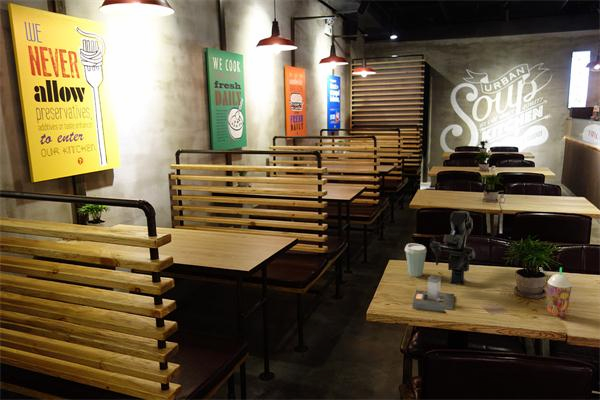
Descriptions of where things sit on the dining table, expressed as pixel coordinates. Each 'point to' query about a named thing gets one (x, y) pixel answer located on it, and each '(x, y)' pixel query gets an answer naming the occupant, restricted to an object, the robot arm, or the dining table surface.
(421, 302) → the flange plate
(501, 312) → the pad
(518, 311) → the dining table surface
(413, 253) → the disposable coffee cup
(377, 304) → the dining table surface
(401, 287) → the dining table surface
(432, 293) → the grey square peg
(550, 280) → the smoothie
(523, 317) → the dining table surface
